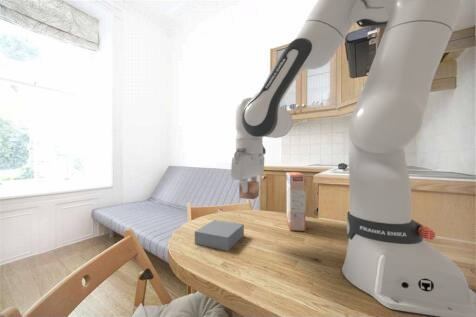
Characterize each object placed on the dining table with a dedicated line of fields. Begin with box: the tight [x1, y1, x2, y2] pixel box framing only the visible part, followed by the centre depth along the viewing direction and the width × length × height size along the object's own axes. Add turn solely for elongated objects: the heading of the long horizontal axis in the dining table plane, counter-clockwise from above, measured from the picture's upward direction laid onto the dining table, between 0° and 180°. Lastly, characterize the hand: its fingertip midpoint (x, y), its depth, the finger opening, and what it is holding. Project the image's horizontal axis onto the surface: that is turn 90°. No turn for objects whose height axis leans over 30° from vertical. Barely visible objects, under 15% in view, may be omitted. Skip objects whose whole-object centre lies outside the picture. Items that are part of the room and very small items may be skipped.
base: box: [194, 219, 245, 252], centre depth 65 cm, size 12×12×4 cm
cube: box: [238, 180, 260, 200], centre depth 64 cm, size 5×5×5 cm
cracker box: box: [285, 171, 307, 232], centre depth 78 cm, size 14×6×21 cm, turn 171°
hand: (249, 190), depth 64 cm, fingers closed on cube, 5 cm apart
